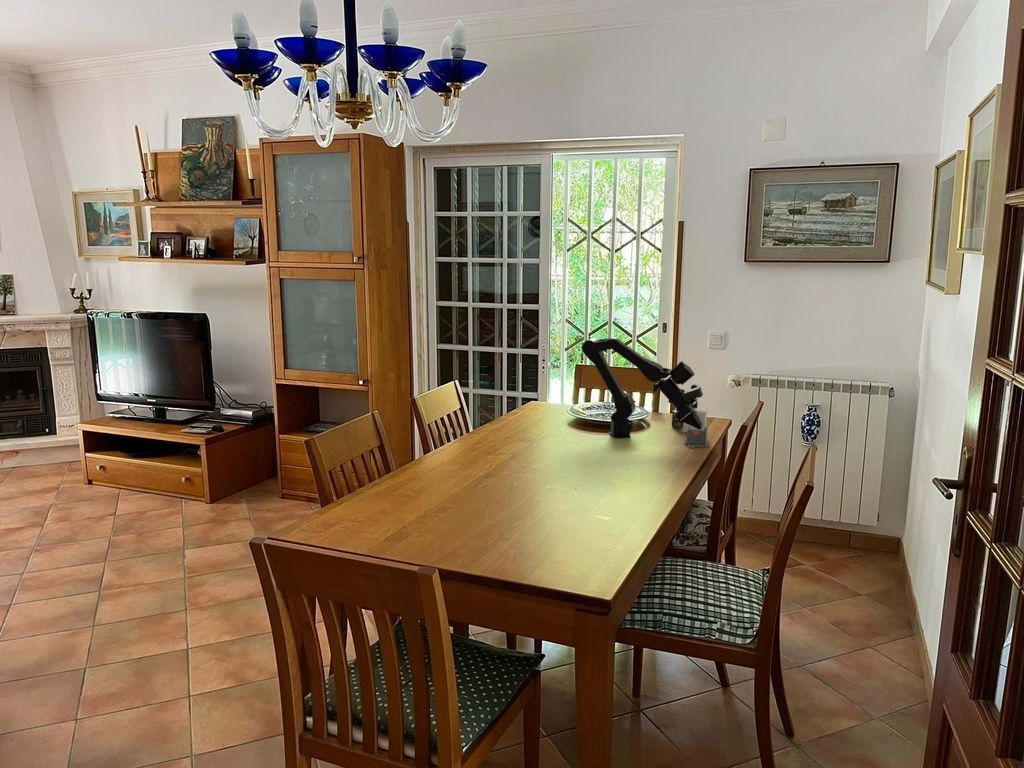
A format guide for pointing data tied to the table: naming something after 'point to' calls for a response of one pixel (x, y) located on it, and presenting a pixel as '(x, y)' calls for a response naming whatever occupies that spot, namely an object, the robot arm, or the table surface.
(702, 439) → the base
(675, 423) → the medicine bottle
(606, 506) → the table surface
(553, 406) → the table surface
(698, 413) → the column
